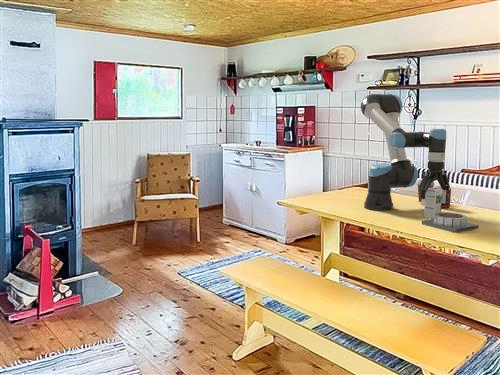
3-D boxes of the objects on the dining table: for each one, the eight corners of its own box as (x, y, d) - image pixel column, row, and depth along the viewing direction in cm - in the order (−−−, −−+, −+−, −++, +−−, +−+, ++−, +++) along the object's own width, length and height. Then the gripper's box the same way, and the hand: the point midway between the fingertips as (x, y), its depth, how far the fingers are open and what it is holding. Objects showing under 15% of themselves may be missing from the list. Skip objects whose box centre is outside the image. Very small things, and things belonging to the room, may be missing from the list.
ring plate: (421, 223, 220) (422, 213, 219) (444, 220, 228) (445, 209, 227) (455, 232, 205) (456, 221, 204) (478, 228, 213) (479, 217, 212)
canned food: (441, 209, 252) (443, 189, 250) (431, 206, 259) (432, 186, 257) (453, 208, 255) (454, 188, 253) (441, 205, 262) (443, 186, 260)
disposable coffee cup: (413, 199, 278) (415, 179, 276) (430, 200, 277) (432, 179, 275) (418, 203, 269) (419, 182, 267) (435, 203, 268) (436, 182, 266)
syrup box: (434, 219, 230) (436, 189, 227) (423, 216, 234) (425, 187, 232) (441, 217, 233) (443, 188, 231) (430, 215, 238) (432, 186, 235)
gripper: (425, 163, 220) (422, 208, 223) (459, 160, 232) (456, 203, 236) (412, 161, 226) (409, 205, 230) (446, 159, 239) (443, 200, 242)
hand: (433, 204), depth 233 cm, fingers open, 13 cm apart
